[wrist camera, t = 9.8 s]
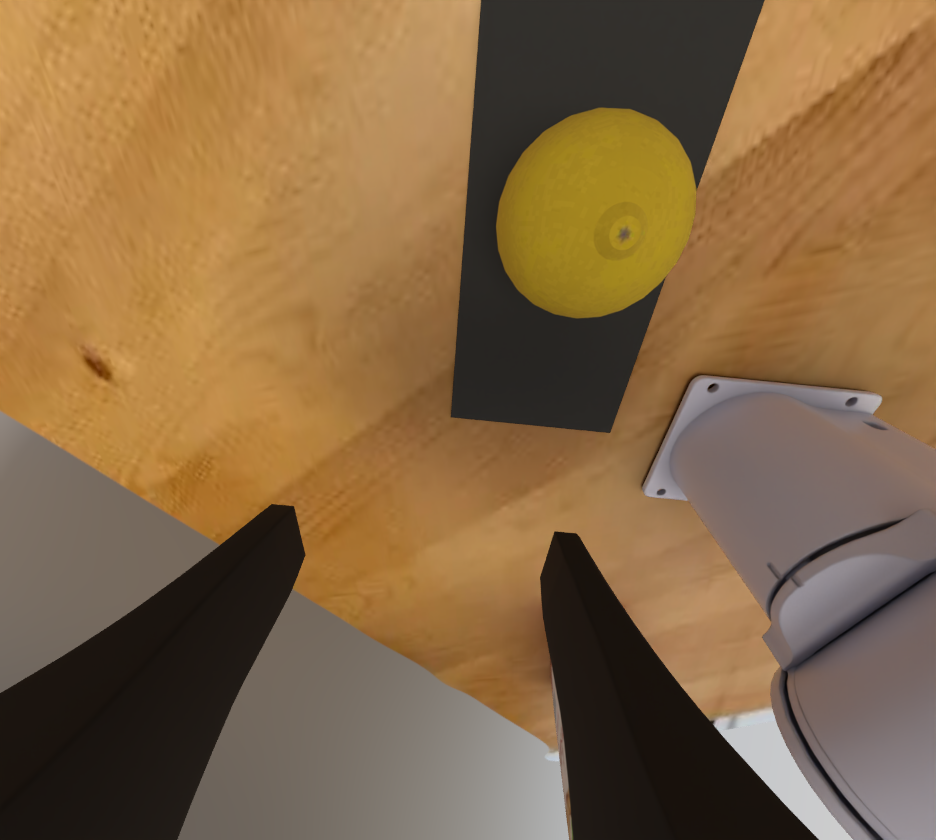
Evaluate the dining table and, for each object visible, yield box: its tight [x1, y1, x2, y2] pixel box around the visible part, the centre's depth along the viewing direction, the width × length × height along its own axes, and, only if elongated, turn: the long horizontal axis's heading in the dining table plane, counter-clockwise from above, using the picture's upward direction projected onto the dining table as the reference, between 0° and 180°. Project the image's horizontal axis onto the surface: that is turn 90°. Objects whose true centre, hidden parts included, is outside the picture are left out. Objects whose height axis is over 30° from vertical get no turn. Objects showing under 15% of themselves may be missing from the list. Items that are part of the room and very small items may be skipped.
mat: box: [451, 0, 764, 433], centre depth 15 cm, size 9×20×1 cm, turn 175°
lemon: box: [496, 108, 696, 318], centre depth 11 cm, size 6×6×8 cm
